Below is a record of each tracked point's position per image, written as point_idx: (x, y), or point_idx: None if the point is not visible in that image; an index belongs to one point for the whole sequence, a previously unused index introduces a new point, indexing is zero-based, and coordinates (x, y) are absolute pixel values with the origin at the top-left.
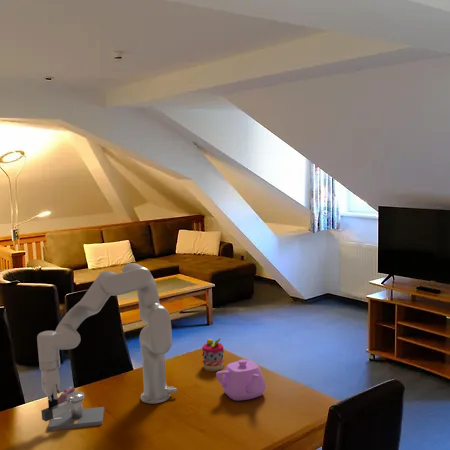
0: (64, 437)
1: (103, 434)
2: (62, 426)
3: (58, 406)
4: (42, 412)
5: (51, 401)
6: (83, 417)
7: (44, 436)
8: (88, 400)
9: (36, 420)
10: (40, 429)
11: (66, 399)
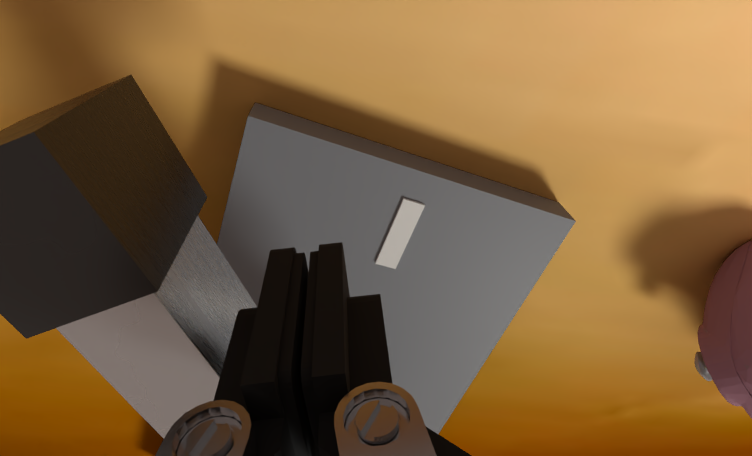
0: None
1: (7, 453)
2: (218, 246)
3: (165, 415)
4: (18, 135)
5: (229, 414)
6: None
7: (128, 36)
8: (603, 441)
9: (592, 14)
10: (332, 21)
11: (696, 361)
